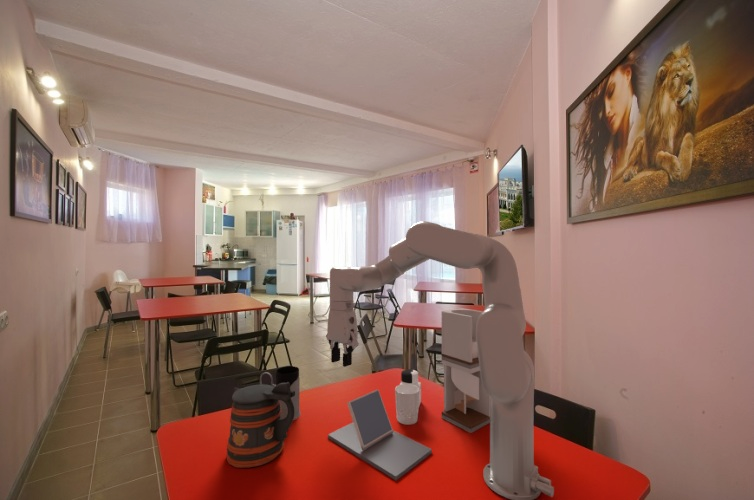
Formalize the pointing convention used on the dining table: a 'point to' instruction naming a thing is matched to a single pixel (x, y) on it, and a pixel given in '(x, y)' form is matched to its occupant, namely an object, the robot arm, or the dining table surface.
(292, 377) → the glass holder
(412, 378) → the medicine bottle
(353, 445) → the base
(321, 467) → the dining table surface
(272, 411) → the beer stein
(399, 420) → the white cup
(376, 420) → the tile
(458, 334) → the white tiered shelf stand
